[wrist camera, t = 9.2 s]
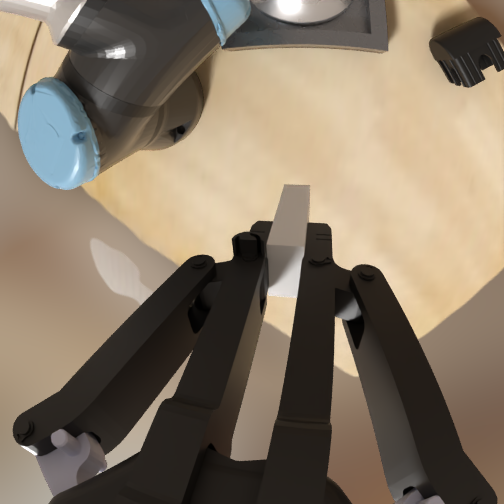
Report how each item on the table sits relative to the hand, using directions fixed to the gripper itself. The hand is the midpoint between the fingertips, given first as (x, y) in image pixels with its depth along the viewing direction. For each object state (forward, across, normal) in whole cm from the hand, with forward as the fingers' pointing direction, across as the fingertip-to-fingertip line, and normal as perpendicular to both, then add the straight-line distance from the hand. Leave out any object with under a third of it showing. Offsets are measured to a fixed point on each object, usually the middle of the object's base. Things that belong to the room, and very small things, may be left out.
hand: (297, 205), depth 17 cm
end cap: (+25, -22, -15) cm, 36 cm away
